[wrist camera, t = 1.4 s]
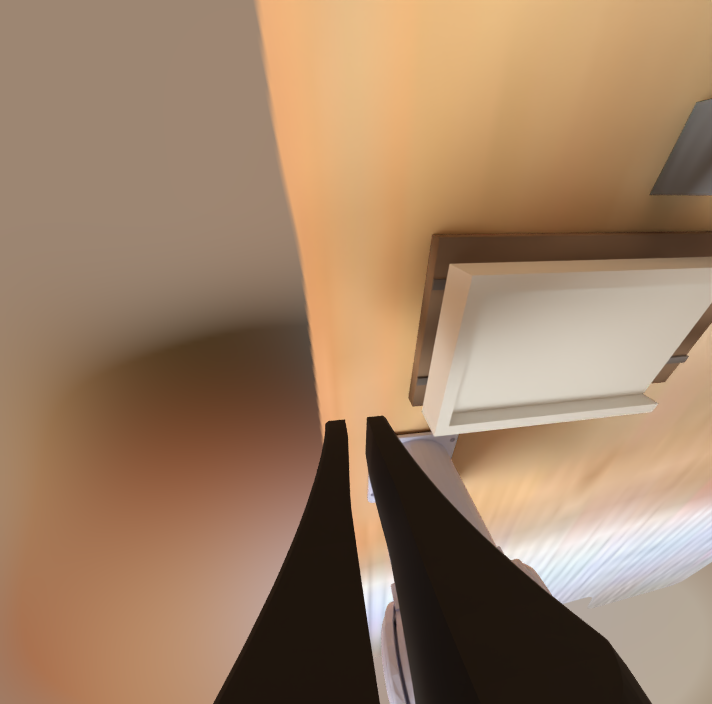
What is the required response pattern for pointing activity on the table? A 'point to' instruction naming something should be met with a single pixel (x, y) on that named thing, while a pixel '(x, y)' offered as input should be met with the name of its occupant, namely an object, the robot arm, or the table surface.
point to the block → (690, 157)
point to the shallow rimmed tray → (558, 339)
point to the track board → (546, 249)
